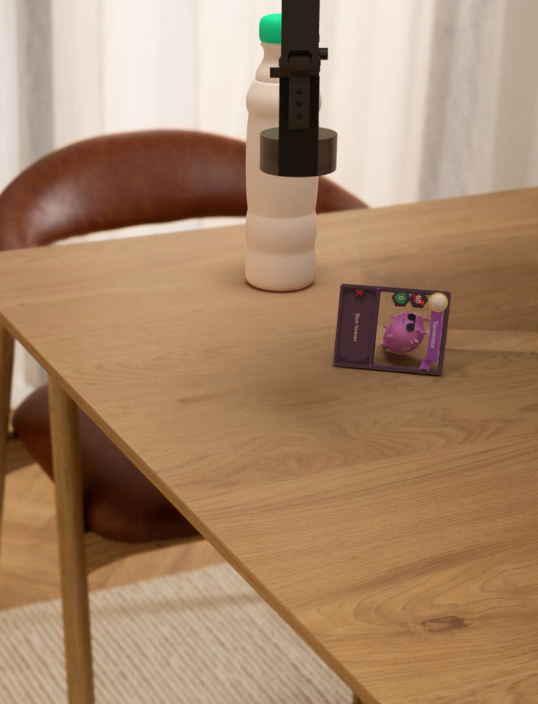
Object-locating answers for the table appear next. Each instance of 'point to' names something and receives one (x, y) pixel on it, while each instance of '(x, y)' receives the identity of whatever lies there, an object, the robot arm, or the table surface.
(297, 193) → the water bottle
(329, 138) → the brown wooden puck
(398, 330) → the game card
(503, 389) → the table surface
